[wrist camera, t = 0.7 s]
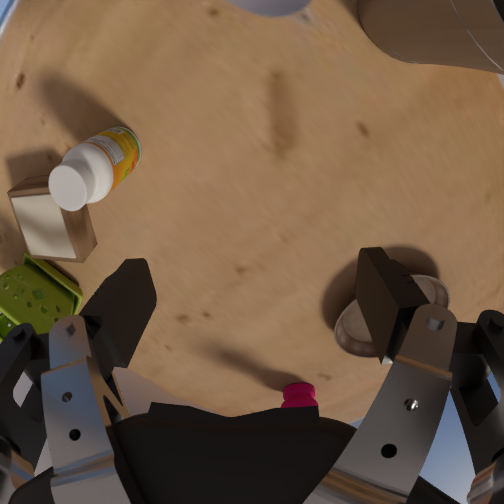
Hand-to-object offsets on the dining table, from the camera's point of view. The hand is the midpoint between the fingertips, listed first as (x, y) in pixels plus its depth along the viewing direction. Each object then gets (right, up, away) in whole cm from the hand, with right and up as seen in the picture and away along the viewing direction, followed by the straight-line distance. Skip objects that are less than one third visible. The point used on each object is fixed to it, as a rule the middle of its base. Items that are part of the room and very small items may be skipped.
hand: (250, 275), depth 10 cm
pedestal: (-25, +6, +20) cm, 32 cm away
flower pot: (-33, -5, +28) cm, 44 cm away
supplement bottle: (-14, +11, +15) cm, 24 cm away
